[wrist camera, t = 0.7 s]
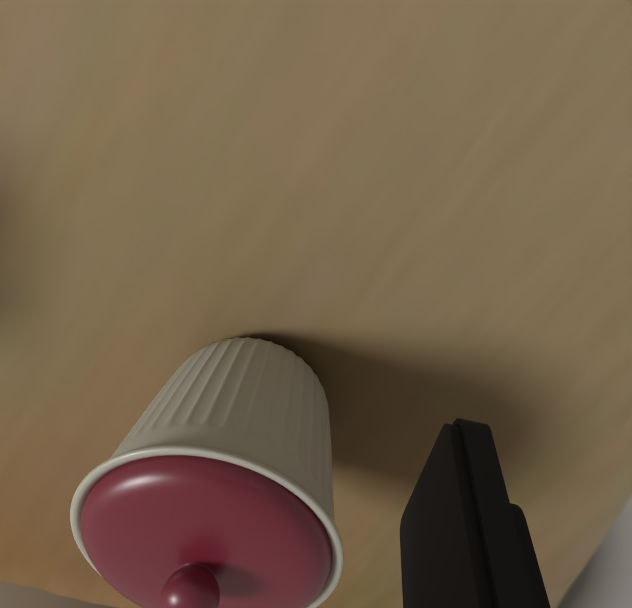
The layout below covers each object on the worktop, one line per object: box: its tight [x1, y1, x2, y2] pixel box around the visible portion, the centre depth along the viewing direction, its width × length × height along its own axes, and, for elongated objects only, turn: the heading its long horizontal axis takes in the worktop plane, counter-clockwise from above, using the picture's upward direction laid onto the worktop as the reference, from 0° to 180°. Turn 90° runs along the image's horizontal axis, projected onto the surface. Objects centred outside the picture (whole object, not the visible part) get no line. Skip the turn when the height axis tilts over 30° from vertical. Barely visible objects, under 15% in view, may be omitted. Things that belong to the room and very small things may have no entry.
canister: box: [70, 337, 344, 608], centre depth 41 cm, size 18×18×21 cm
